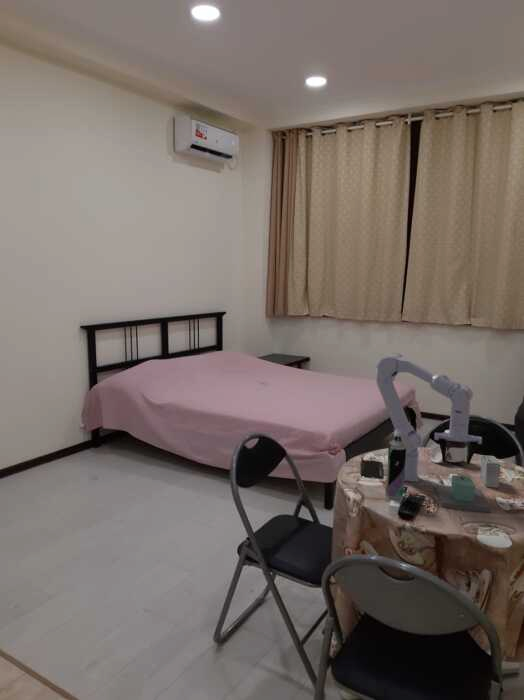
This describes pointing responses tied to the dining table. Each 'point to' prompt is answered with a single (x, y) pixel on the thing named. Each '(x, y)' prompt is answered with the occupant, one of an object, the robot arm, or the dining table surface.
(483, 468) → the medicine box
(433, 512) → the dining table surface
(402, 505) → the dining table surface
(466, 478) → the keyed cap
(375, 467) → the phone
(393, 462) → the spray can
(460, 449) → the spread jar
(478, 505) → the key board
